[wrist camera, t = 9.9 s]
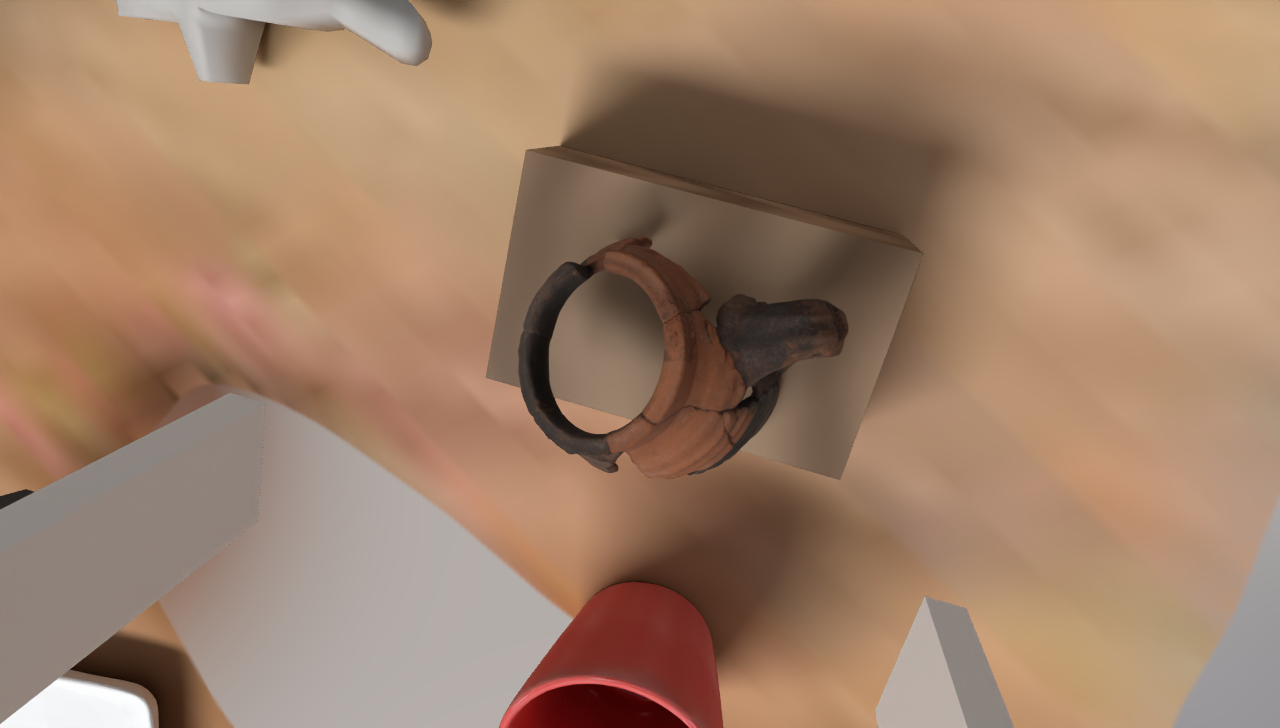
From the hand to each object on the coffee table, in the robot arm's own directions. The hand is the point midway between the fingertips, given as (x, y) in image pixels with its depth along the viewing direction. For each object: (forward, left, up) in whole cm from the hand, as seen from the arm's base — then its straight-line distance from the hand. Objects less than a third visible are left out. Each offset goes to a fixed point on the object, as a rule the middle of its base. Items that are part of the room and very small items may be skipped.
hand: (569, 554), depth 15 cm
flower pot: (+2, -20, -23) cm, 30 cm away
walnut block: (0, 0, -23) cm, 23 cm away
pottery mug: (+1, -1, -18) cm, 18 cm away
